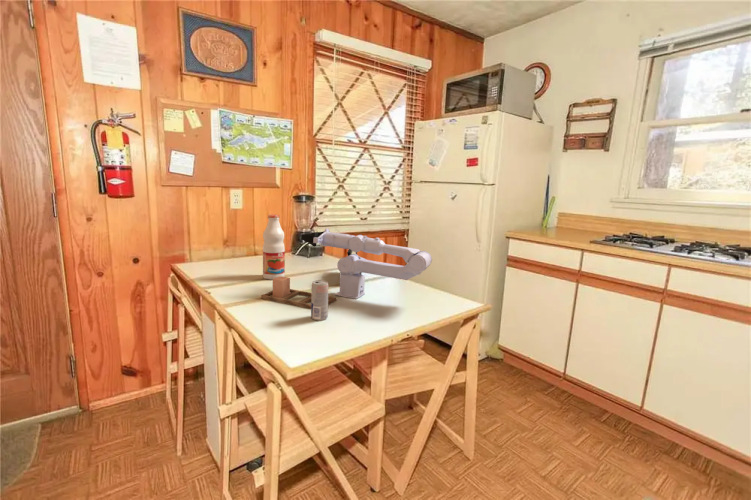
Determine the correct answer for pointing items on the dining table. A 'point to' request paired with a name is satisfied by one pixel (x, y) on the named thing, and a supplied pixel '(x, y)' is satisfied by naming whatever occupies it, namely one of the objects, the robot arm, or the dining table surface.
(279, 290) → the terracotta block
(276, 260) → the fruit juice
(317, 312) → the energy drink
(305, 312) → the dining table surface
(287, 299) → the wooden divided frame
